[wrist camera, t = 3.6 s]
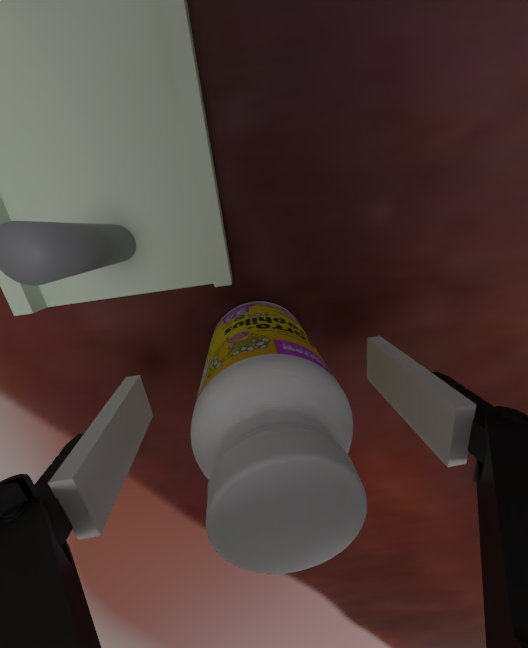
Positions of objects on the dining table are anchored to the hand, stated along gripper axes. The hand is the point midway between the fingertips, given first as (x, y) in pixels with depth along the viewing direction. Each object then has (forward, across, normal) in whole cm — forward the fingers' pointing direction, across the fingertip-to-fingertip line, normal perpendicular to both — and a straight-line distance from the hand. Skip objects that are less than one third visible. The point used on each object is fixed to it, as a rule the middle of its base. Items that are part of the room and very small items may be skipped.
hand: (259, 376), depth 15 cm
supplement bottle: (+5, 0, 0) cm, 5 cm away
